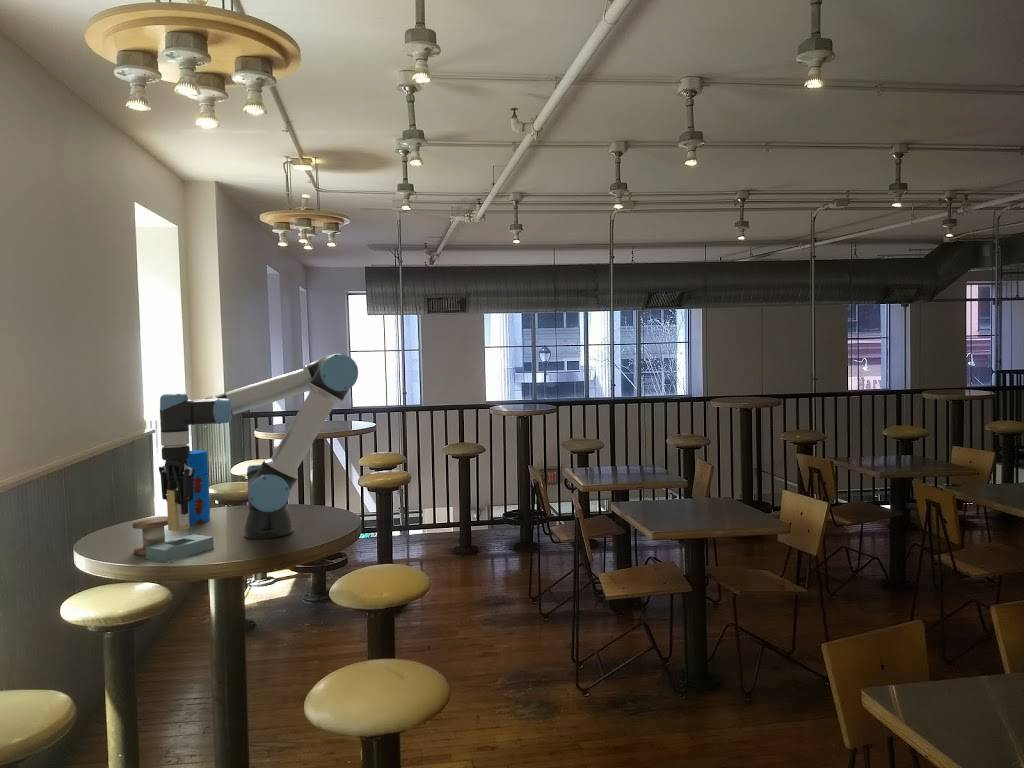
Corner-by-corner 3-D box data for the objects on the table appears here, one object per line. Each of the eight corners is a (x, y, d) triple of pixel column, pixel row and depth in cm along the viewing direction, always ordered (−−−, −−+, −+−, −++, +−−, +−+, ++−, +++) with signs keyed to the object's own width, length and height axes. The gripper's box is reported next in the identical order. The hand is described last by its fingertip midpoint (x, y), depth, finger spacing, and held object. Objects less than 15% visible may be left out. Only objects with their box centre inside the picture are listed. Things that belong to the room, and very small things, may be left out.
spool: (182, 547, 215) (180, 518, 215) (148, 557, 206) (147, 526, 205) (159, 544, 220) (158, 515, 220) (125, 553, 211) (124, 522, 211)
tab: (181, 526, 211) (180, 487, 211) (189, 528, 209) (187, 488, 209) (168, 530, 207) (166, 490, 207) (175, 531, 205) (174, 490, 205)
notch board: (194, 545, 218) (193, 534, 218) (213, 548, 213) (213, 537, 213) (146, 558, 204) (145, 547, 204) (165, 562, 199) (165, 550, 199)
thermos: (215, 521, 251) (211, 451, 250) (183, 526, 244) (180, 455, 243) (203, 516, 259) (200, 449, 258) (173, 521, 252) (169, 452, 251)
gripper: (205, 445, 207) (208, 524, 208) (169, 443, 215) (172, 519, 215) (182, 448, 200) (185, 529, 201) (146, 446, 208) (149, 524, 209)
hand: (178, 524), depth 208 cm, fingers closed on tab, 3 cm apart
